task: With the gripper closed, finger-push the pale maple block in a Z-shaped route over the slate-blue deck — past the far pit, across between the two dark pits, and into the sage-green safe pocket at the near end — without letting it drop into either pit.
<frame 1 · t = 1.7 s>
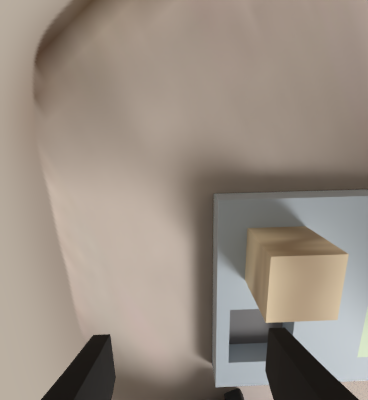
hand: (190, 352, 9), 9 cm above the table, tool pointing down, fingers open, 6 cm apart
block: (274, 253, 16), point 2 cm above the table, touching board
board: (320, 284, 19), on the table
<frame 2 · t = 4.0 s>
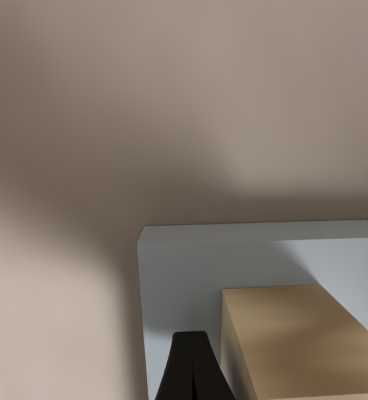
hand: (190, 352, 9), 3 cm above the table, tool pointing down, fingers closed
block: (268, 328, 10), point 2 cm above the table, touching gripper
board: (315, 356, 13), on the table
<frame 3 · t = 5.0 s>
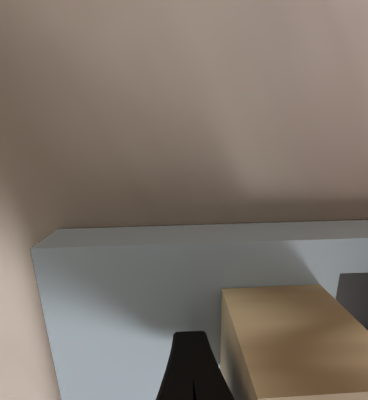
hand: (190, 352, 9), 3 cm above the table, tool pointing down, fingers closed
block: (267, 327, 10), point 2 cm above the table, touching gripper, board
board: (244, 359, 12), on the table
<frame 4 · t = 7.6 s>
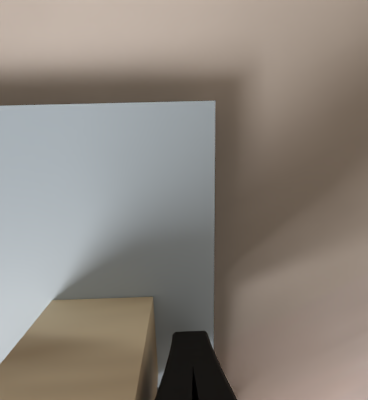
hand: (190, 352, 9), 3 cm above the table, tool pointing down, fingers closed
block: (108, 339, 9), point 2 cm above the table, touching gripper
board: (48, 304, 11), on the table
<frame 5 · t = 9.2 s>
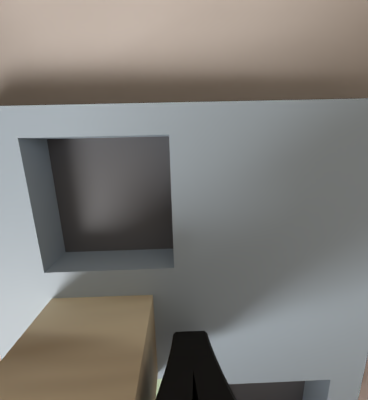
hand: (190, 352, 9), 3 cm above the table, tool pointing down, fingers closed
block: (107, 337, 9), point 2 cm above the table, touching gripper, board
board: (186, 299, 11), on the table
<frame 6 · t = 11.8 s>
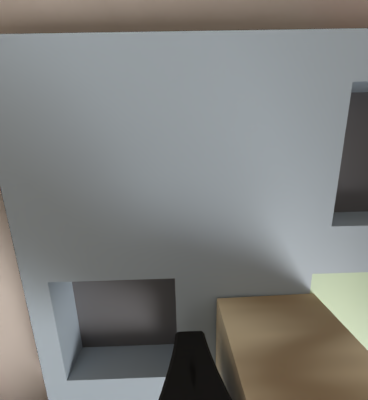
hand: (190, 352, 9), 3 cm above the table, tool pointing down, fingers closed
block: (262, 336, 10), point 2 cm above the table, touching gripper
board: (237, 242, 11), on the table
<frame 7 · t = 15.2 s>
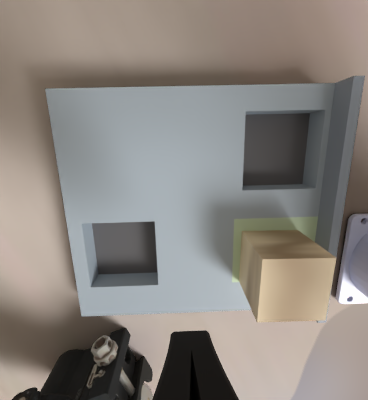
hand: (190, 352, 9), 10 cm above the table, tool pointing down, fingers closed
block: (267, 256, 16), point 2 cm above the table, touching board
board: (195, 205, 17), on the table
scope: (90, 362, 21), on the table
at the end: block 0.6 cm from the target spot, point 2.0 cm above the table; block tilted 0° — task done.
